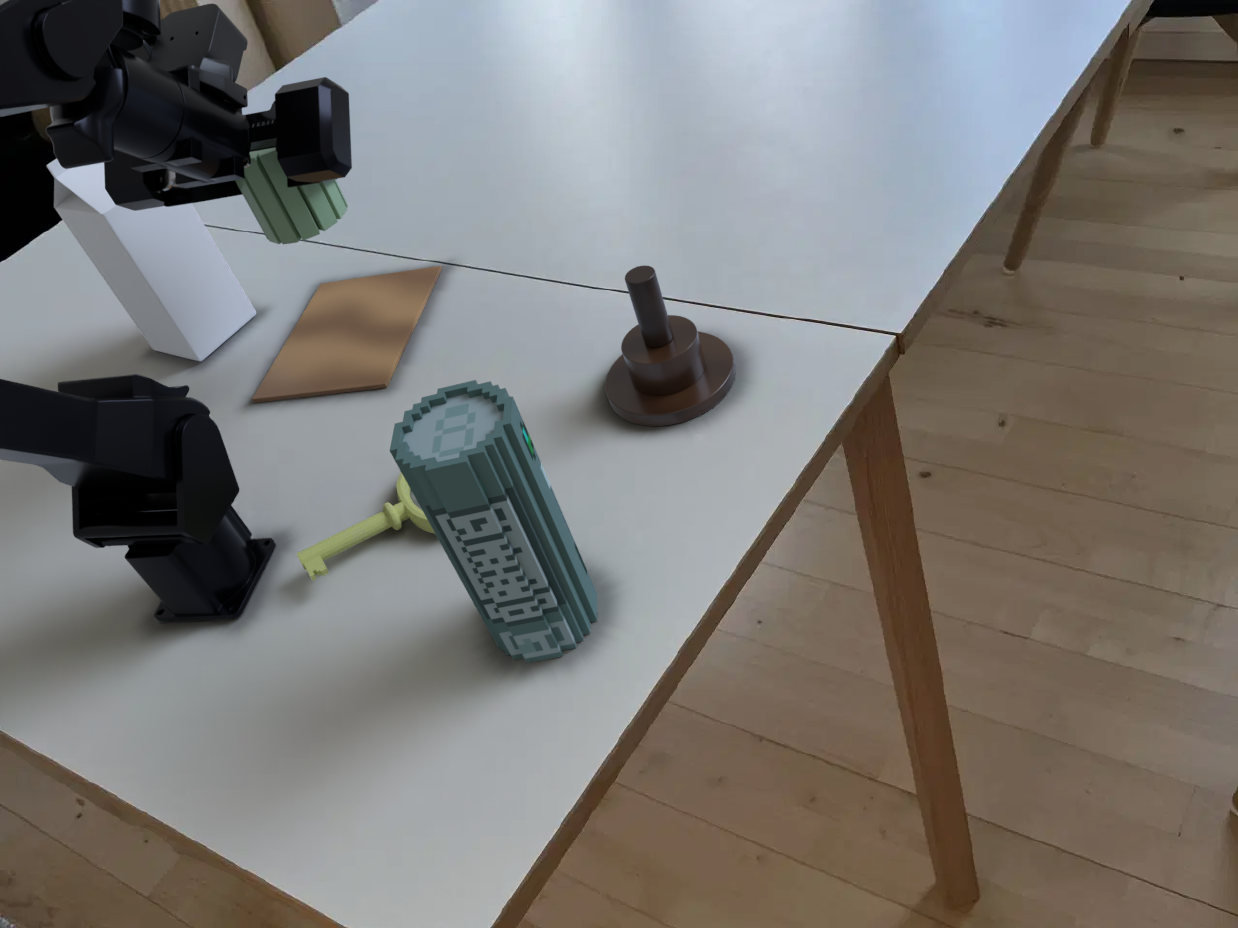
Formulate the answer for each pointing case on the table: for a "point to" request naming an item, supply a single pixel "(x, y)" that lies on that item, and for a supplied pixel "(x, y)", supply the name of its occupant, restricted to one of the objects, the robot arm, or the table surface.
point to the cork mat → (349, 336)
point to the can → (497, 518)
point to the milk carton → (154, 264)
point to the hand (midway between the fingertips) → (297, 178)
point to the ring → (288, 201)
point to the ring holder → (665, 362)
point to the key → (365, 530)
